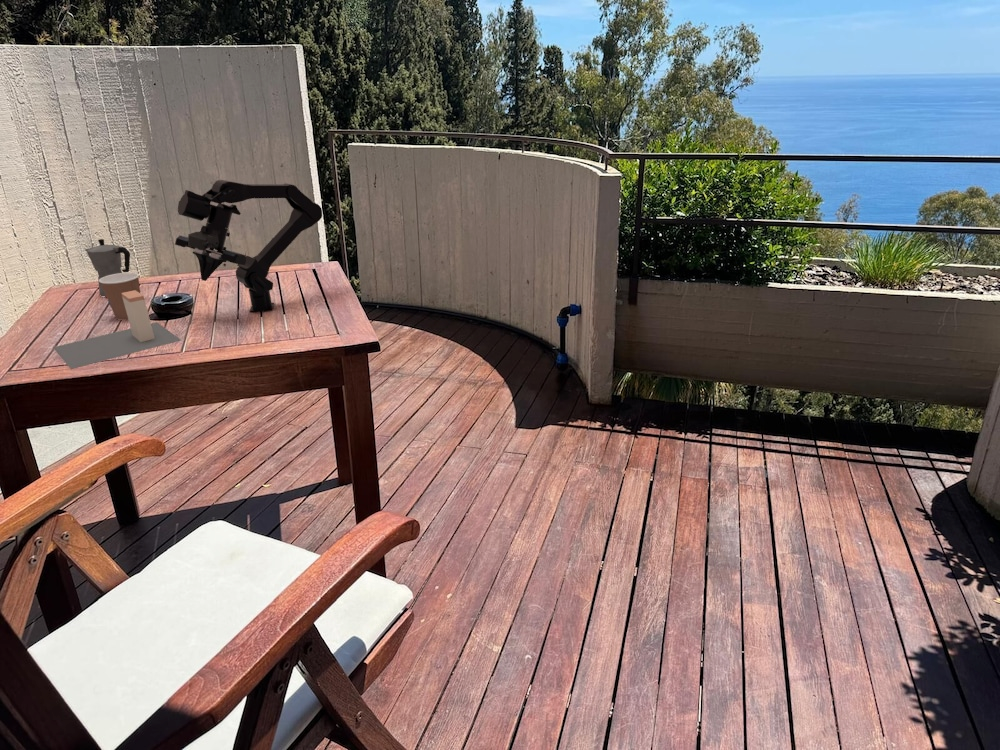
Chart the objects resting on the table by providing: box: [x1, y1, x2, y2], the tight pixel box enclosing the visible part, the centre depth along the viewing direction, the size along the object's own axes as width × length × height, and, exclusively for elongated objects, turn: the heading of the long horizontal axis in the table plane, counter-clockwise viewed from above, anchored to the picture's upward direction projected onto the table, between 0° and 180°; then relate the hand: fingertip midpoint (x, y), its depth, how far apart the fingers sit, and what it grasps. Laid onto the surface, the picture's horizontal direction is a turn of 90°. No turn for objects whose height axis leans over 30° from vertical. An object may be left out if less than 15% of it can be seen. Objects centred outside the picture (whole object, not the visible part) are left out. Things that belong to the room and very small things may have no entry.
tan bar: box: [121, 290, 155, 342], centre depth 177 cm, size 4×7×12 cm, turn 42°
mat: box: [52, 321, 182, 370], centre depth 176 cm, size 26×20×1 cm
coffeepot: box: [84, 238, 131, 297], centre depth 214 cm, size 15×9×18 cm, turn 80°
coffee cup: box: [98, 272, 141, 321], centre depth 194 cm, size 10×10×12 cm
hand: (203, 280), depth 186 cm, fingers closed
